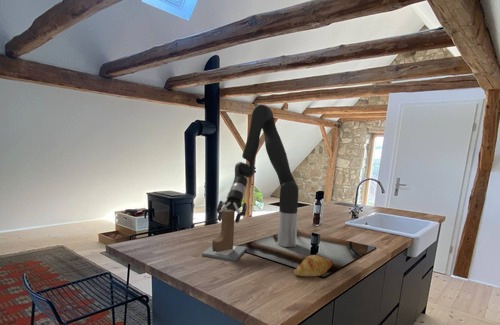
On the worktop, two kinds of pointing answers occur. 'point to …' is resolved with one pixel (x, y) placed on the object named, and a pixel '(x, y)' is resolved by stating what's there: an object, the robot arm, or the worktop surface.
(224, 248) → the wooden block
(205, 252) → the socket board
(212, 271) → the worktop surface
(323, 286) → the worktop surface
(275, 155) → the robot arm
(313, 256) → the croissant
